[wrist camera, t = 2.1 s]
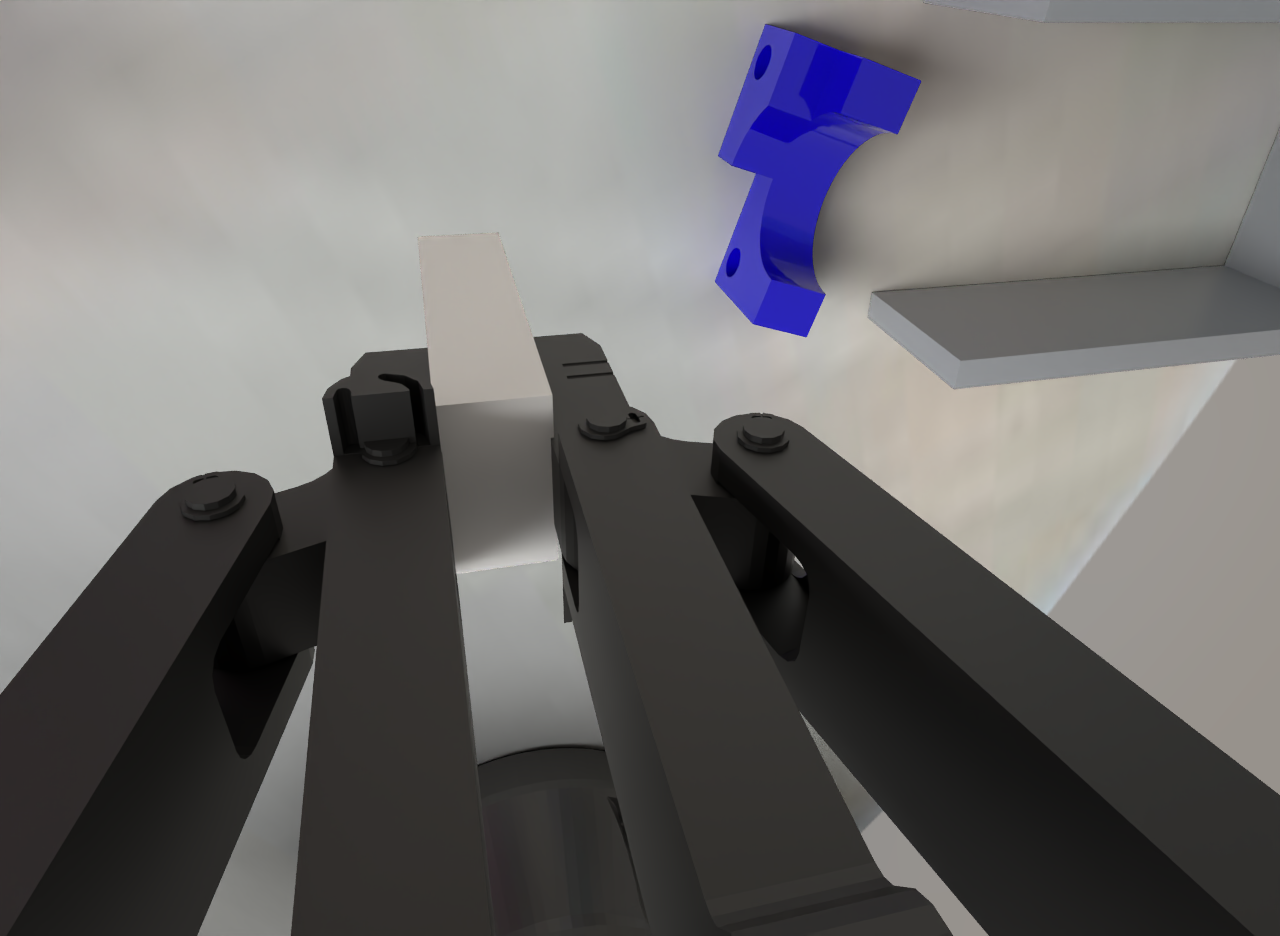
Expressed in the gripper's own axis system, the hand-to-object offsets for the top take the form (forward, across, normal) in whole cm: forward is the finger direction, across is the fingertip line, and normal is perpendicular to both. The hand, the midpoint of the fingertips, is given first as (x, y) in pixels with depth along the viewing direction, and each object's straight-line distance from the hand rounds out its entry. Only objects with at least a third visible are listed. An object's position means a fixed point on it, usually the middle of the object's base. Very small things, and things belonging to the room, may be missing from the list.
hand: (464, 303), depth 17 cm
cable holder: (+12, -11, +1) cm, 16 cm away
